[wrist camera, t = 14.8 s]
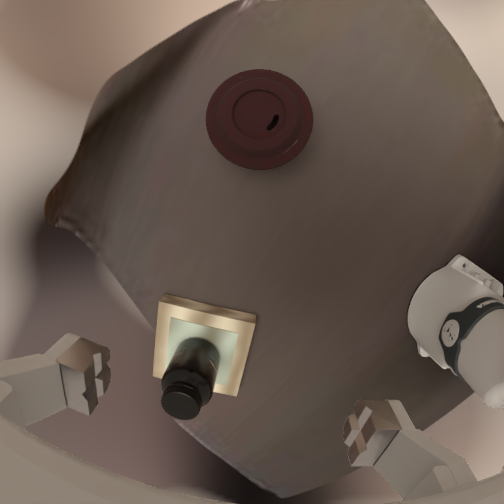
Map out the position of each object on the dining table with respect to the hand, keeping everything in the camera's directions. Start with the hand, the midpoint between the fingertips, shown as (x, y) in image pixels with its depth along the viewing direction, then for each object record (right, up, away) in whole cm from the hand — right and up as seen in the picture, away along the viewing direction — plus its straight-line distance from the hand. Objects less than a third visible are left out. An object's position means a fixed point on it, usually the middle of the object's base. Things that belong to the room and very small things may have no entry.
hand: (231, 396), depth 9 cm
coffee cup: (+2, +20, +30) cm, 36 cm away
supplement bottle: (-7, -11, +35) cm, 37 cm away
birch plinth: (-7, -10, +38) cm, 40 cm away
